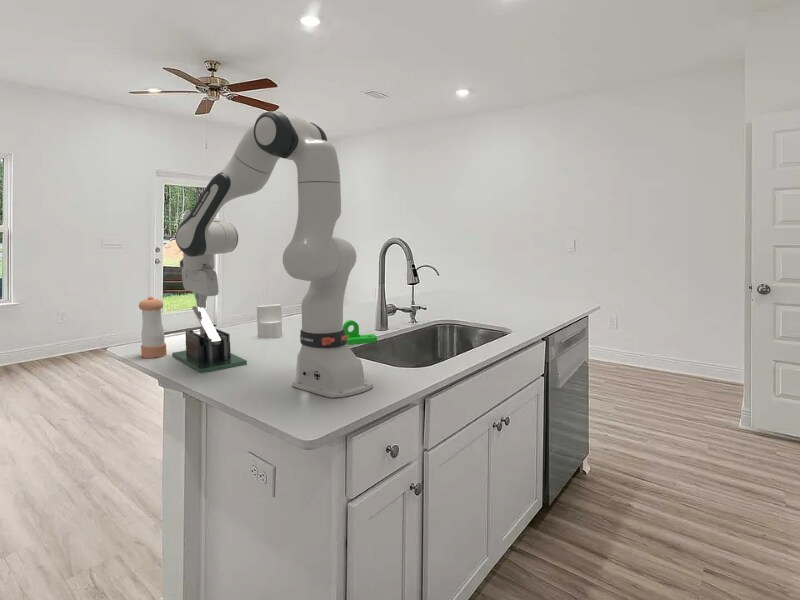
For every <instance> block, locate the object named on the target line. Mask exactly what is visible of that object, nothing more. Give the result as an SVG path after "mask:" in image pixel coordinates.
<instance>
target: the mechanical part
mask: <svg viewBox="0 0 800 600" xmlns="http://www.w3.org/2000/svg"><path fill="white" fill-rule="evenodd" d="M350 326H353V330H351V331H349V328H350ZM343 329H344V330H345V334H346V335H349V336H348V337H346V338H349V339H348V340H347V344H348V345H350V346H351V345H359V344H360V345H361V344H372V343H373V344H374V343H376V342H377V341H378V338H377V335H376V334H374V333H371V334H360V327H359V324H358V323H357V321H355V320H352V319H348V320H347V321H345V322H343Z"/></svg>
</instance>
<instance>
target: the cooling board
mask: <svg viewBox="0 0 800 600" xmlns="http://www.w3.org/2000/svg"><path fill="white" fill-rule="evenodd" d="M215 330H216V332H217V334H218V335H219V337H220V339H221V340H222V342H223V344H222V345H217V346H212V339H211V338H208V337H207V335H206V334H205V332H204V330H203V328H202V326H200V327H199V332H200V334H199V333H196V332H194V330H193V329H190V328H185V350H180V351H175V352H171V353H172V354H171V355H172V357H173V358H174V357H175V358H174V359H176V360H178V361H179V360H180V361H179V362H181V363H183V364H184V363H185V364H184V365H186V366H188V367H189V366H190V367H189V368H191V367H192V368H191V369H193V370H195V371H196V370H197V371H196V372H198V373H200V374H202V372H204V373H208V371H209V372H214V370H215V371H219V370H225V369H229V367H230V368H234V367H235V366H236V367H240V365H241V366H246V365H248V360H246V359H244V358H242V357H240V356H238V355H236V354H233V353H232V352H231V341H230V340H231V339H230V338H231V337H230V333H229V332H225V331H223V330H220V329H218V328H215ZM245 364H246V365H245ZM236 367H235V368H236Z"/></svg>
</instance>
